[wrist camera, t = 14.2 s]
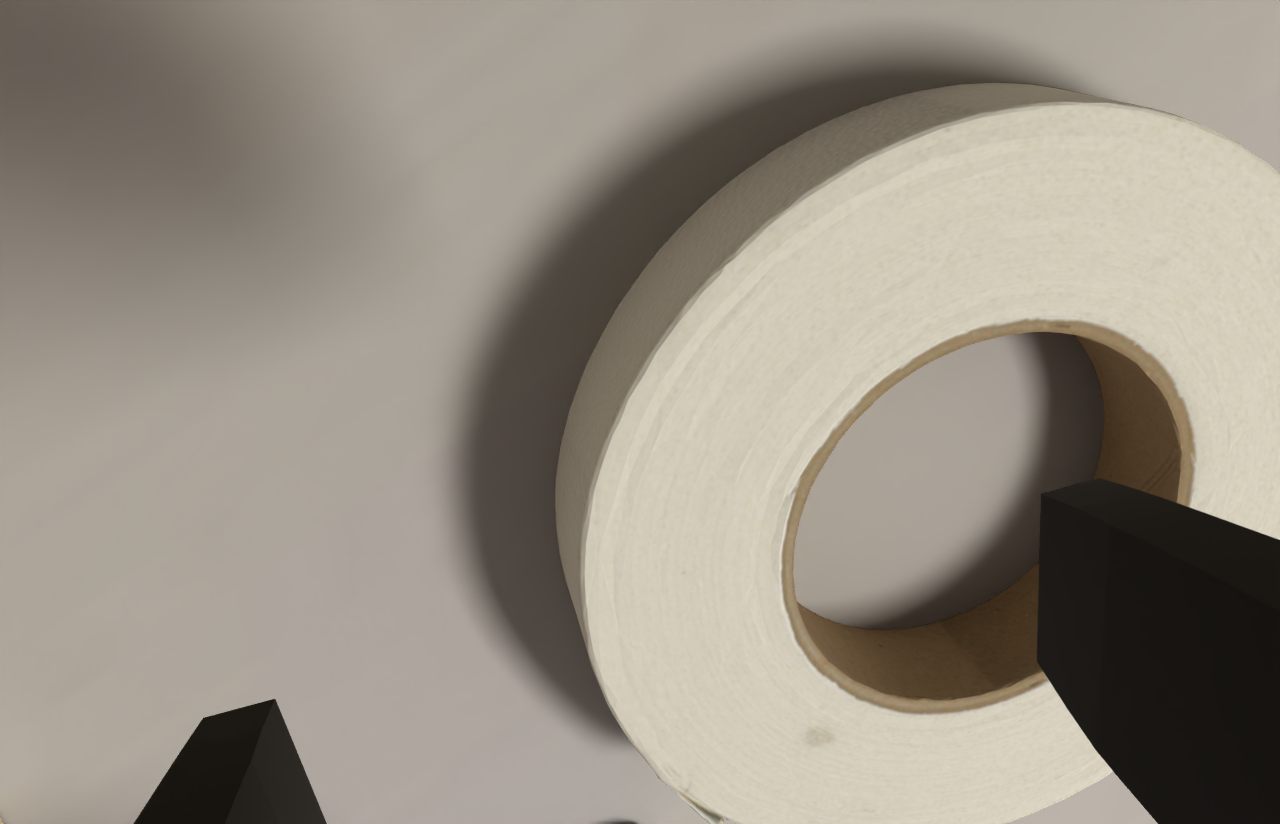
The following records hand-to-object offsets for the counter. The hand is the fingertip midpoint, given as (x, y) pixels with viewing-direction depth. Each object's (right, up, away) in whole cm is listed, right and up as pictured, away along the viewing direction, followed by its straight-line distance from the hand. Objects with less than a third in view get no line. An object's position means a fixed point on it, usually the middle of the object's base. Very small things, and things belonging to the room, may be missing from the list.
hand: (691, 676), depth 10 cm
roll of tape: (+5, +1, +12) cm, 13 cm away
